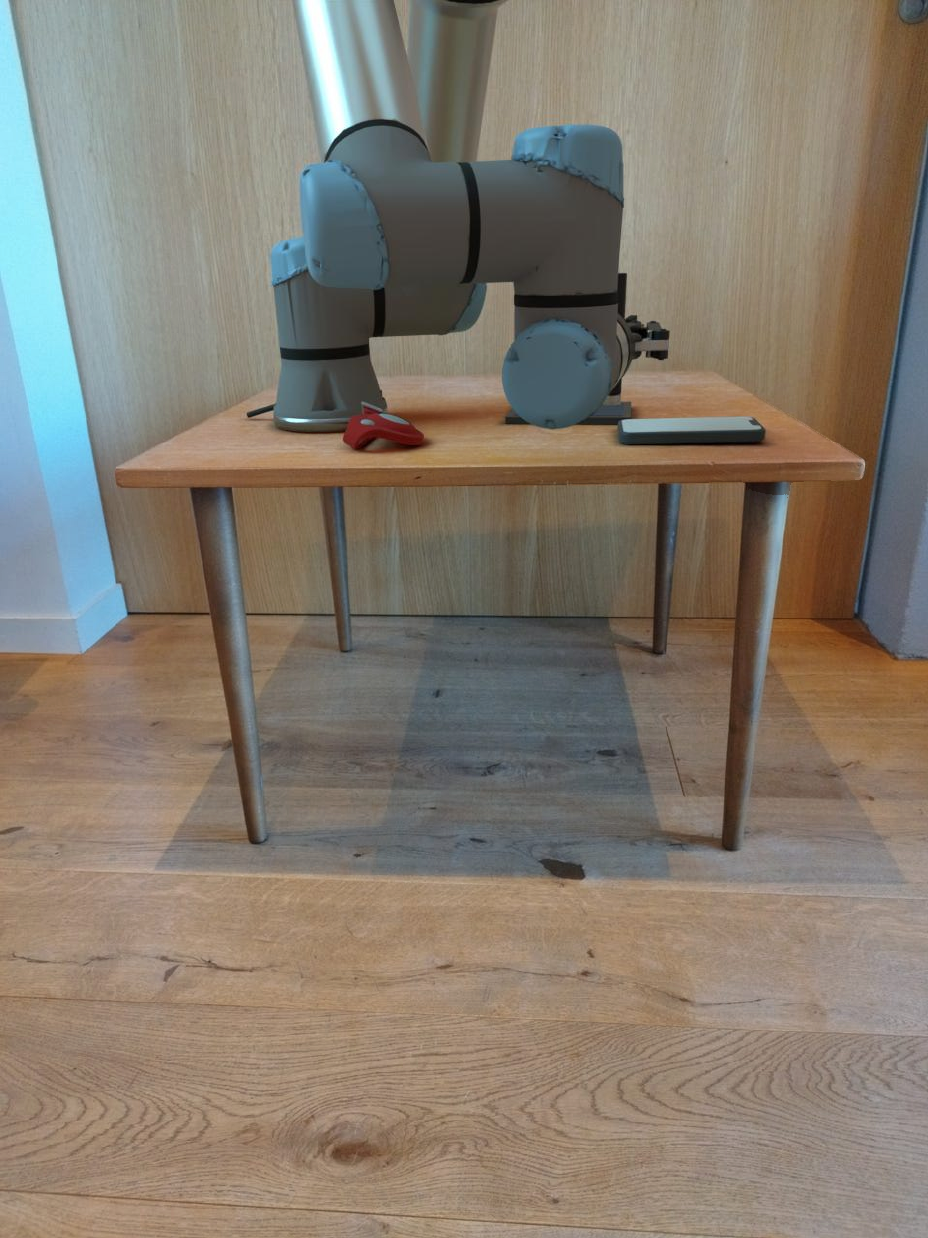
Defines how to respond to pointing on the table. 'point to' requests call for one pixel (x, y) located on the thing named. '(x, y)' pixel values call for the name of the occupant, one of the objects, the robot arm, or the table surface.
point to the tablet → (602, 416)
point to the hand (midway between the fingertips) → (619, 328)
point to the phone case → (690, 430)
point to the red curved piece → (379, 428)
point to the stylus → (615, 393)
